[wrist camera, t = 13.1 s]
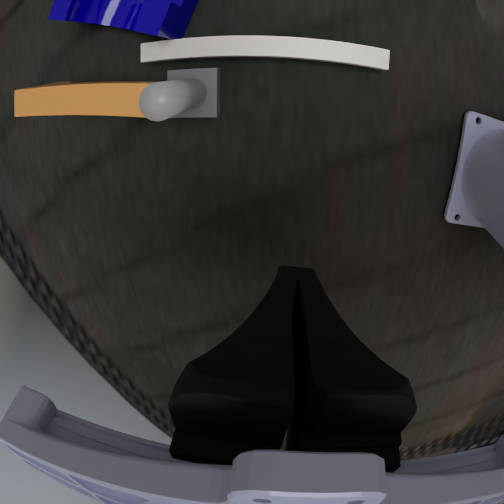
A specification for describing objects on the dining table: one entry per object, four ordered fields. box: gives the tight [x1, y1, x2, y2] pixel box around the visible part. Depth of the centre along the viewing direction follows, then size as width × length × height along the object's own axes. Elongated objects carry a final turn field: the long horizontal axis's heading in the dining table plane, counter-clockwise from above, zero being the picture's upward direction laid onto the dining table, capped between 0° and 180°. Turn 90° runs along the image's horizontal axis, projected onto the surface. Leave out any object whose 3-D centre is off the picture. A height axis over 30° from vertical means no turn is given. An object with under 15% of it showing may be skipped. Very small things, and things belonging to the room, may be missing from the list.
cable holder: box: [48, 0, 199, 39], centre depth 13 cm, size 8×4×4 cm, turn 68°
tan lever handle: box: [14, 79, 206, 121], centre depth 15 cm, size 10×2×5 cm, turn 82°
